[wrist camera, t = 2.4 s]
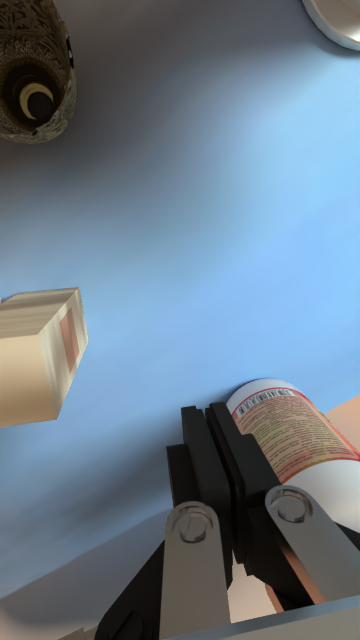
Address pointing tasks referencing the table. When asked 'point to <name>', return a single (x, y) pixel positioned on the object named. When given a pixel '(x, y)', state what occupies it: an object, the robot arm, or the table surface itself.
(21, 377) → the maple block
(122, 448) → the table surface
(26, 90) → the cup
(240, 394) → the fruit juice
